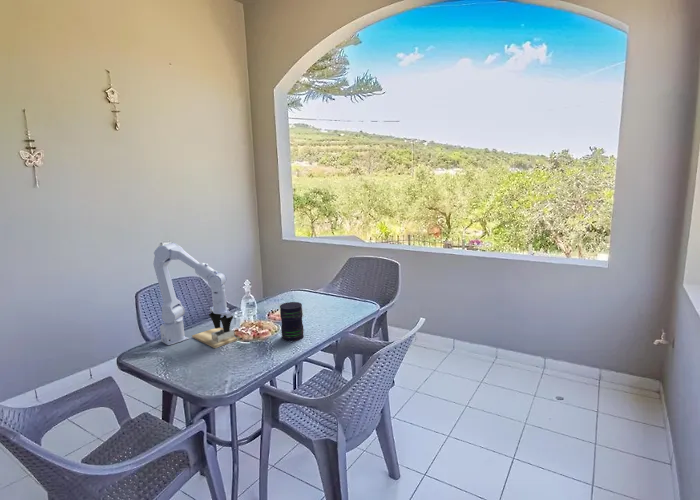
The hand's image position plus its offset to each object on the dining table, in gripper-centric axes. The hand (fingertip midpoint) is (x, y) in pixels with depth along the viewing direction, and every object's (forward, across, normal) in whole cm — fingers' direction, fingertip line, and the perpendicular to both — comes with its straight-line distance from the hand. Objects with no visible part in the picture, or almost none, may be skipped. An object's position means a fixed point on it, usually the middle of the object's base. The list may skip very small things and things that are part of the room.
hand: (222, 329), depth 193 cm
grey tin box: (+4, 0, 0) cm, 4 cm away
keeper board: (+5, +5, 0) cm, 7 cm away
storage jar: (+5, -22, -22) cm, 32 cm away
